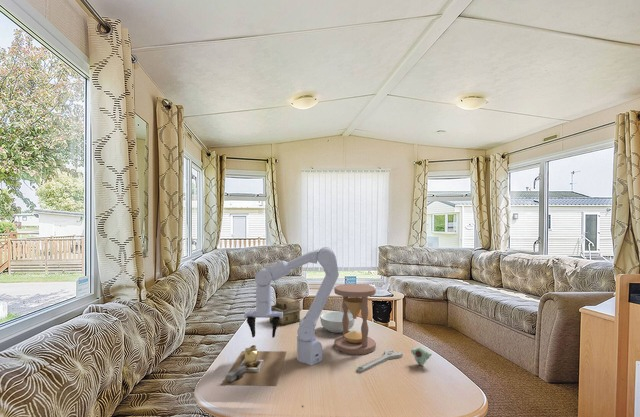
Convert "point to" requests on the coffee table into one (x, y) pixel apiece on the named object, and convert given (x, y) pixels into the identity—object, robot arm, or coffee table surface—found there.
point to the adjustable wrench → (380, 360)
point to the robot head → (420, 355)
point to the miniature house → (287, 310)
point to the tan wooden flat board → (256, 370)
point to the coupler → (251, 357)
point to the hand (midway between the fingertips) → (263, 336)
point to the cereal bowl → (335, 321)
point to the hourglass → (354, 339)
